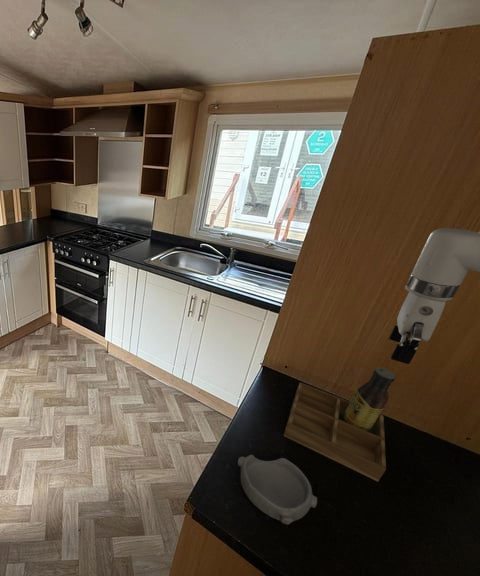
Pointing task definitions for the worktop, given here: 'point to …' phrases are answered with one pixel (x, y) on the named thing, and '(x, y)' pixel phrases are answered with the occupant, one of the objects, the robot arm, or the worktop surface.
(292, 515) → the dish
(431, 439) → the worktop surface
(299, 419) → the grid
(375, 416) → the sauce bottle
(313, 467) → the worktop surface
